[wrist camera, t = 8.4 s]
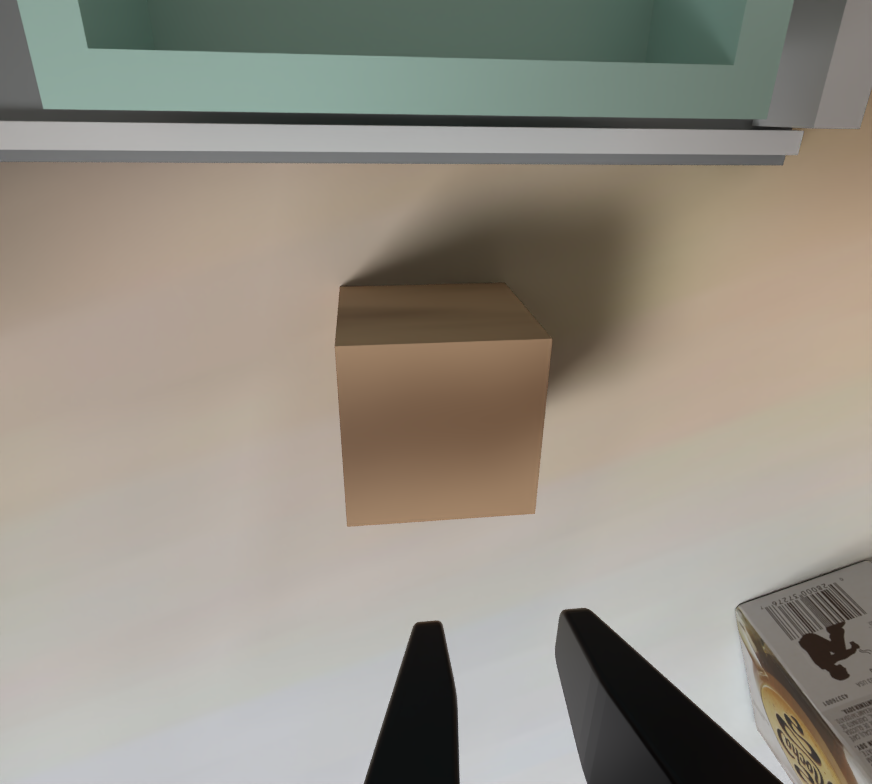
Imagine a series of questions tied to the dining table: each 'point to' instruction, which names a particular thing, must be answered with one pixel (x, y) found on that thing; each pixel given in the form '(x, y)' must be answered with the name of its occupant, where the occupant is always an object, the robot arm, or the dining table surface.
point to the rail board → (457, 118)
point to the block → (439, 402)
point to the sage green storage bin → (411, 56)
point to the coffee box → (814, 675)
